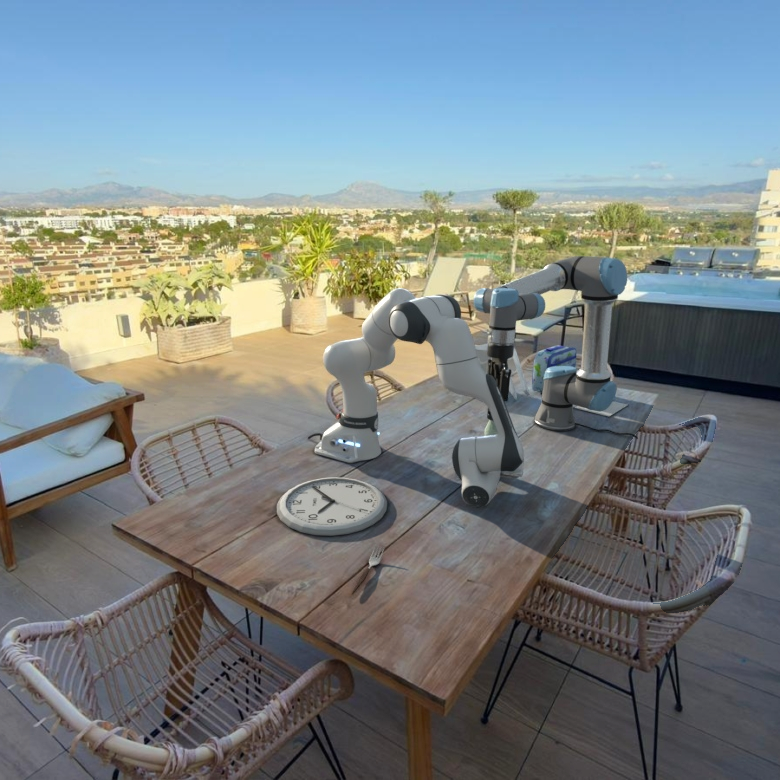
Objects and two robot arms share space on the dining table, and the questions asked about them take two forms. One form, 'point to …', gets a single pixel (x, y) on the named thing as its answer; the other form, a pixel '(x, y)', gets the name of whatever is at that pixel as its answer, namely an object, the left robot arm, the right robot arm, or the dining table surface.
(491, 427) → the bottle
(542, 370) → the lunch box
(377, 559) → the fork
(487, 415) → the cap
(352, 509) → the wall clock
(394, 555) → the dining table surface
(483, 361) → the white plastic object
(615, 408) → the invitation card
